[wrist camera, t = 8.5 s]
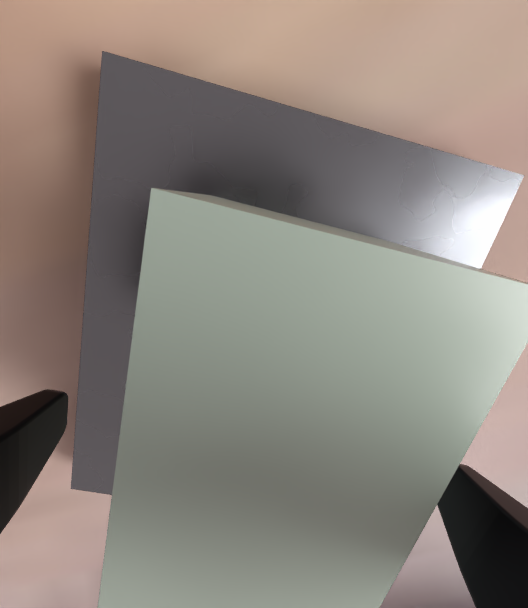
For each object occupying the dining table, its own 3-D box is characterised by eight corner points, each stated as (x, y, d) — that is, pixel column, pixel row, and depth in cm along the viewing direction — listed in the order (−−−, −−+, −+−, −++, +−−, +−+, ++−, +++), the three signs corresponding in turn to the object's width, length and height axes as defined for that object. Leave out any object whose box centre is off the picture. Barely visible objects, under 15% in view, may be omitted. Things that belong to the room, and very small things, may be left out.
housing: (305, 470, 13) (343, 672, 8) (164, 446, 13) (92, 646, 7) (389, 241, 10) (555, 291, 5) (211, 195, 10) (151, 187, 4)
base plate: (348, 502, 16) (382, 612, 12) (88, 460, 15) (20, 567, 10) (490, 178, 11) (634, 164, 7) (124, 72, 10) (25, -25, 6)
